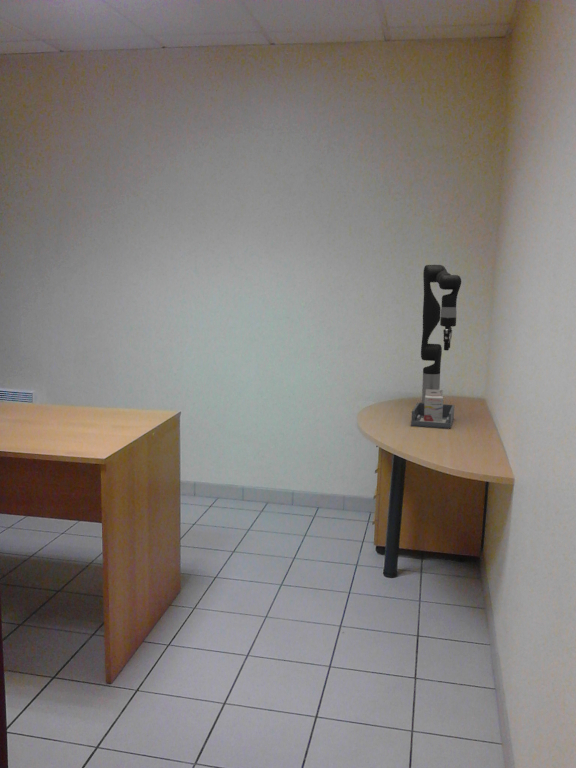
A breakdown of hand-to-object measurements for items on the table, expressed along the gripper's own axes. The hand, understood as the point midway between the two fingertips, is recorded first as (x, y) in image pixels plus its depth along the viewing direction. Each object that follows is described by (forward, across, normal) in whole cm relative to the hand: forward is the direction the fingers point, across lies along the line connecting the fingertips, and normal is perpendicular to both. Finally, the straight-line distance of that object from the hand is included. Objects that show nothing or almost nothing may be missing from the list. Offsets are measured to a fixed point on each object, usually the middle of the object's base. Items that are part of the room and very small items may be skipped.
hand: (446, 349), depth 320 cm
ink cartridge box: (+33, +14, -4) cm, 36 cm away
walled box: (+34, +14, -4) cm, 37 cm away
